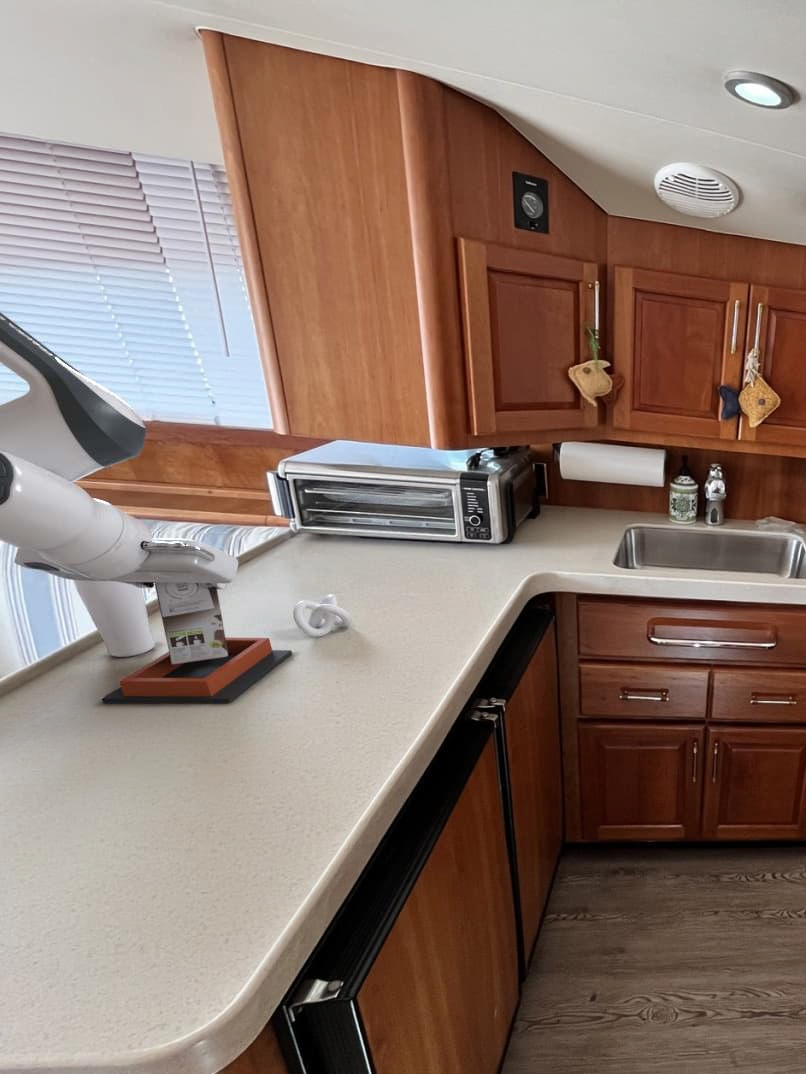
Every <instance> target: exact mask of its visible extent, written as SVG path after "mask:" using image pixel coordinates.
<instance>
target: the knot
mask: <svg viewBox="0 0 806 1074" xmlns="http://www.w3.org/2000/svg"><path fill="white" fill-rule="evenodd" d="M338 603H339V600H338V598H337V596H336V595H335V594H332V593H330V594H327V595H326V596H325V597H324V598H323V599H322V600H321V602H320V603H318V602H316V601H313V600H309V599H308V600H307V599H305V600H301V601H299V602H298V603H296V604H295V605H294V607H293V610H292V617H293V620H294V623H295V625H296V626H297V627H298V629H299V630H301V631H302V632H303V633H304V634H306V635H308V636H311V637H315V638H319V637H324V636H326V635H327V634H329V633H331V631H332V629H333V628H334V626H337V627H341V628H345V627H349V626H350V625H351V624H352V621H353V620H352V616H351V614H350V613H349V612H348V611H346V610H345V609H344V608H342V607H341V606H338ZM306 609H309V610H311V613H310V615H309V620H308V621H307V620H306V617H305V610H306ZM323 619H324V622H323V624H322V626H320V625H321V623H322V621H323ZM319 626H320V627H319Z"/></svg>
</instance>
